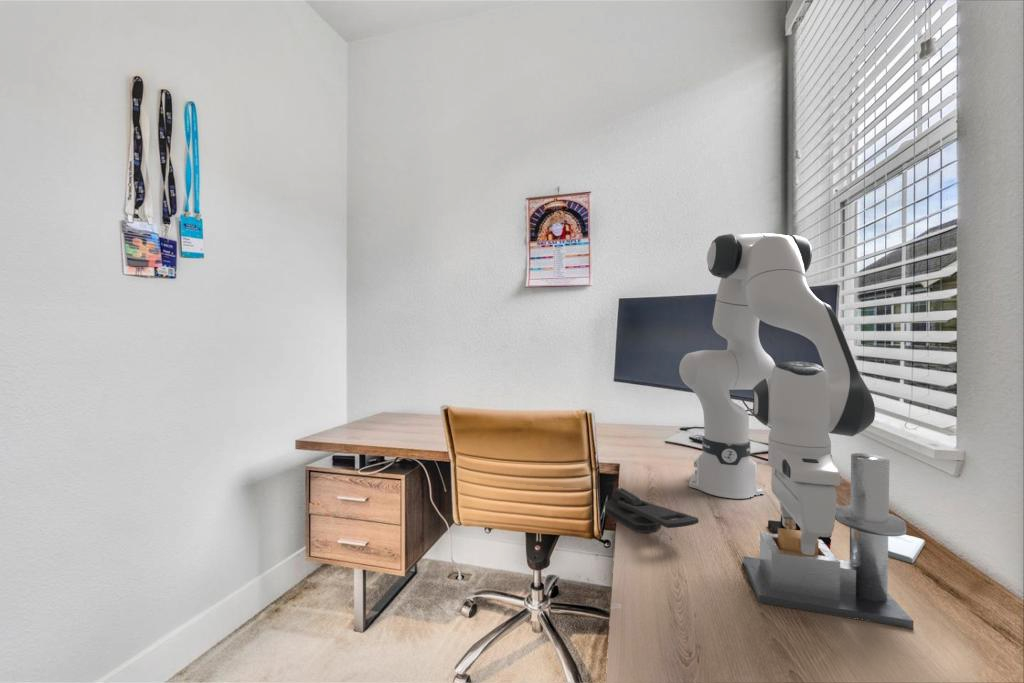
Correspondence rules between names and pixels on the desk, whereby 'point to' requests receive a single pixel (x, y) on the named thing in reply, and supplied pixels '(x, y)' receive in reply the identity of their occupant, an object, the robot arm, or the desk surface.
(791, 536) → the wedge pin
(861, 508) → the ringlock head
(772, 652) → the desk surface
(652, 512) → the zipper pull
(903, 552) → the external hard drive
